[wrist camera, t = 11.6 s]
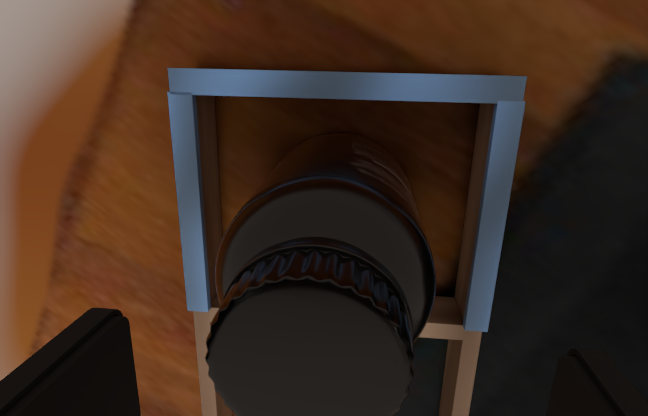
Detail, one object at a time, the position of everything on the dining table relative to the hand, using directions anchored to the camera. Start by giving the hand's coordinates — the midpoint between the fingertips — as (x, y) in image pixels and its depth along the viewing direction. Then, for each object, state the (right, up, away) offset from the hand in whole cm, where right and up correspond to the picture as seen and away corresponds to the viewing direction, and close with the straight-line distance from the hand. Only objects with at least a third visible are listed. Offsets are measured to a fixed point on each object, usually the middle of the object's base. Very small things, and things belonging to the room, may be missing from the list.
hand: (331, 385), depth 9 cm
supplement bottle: (+1, +4, +12) cm, 12 cm away
